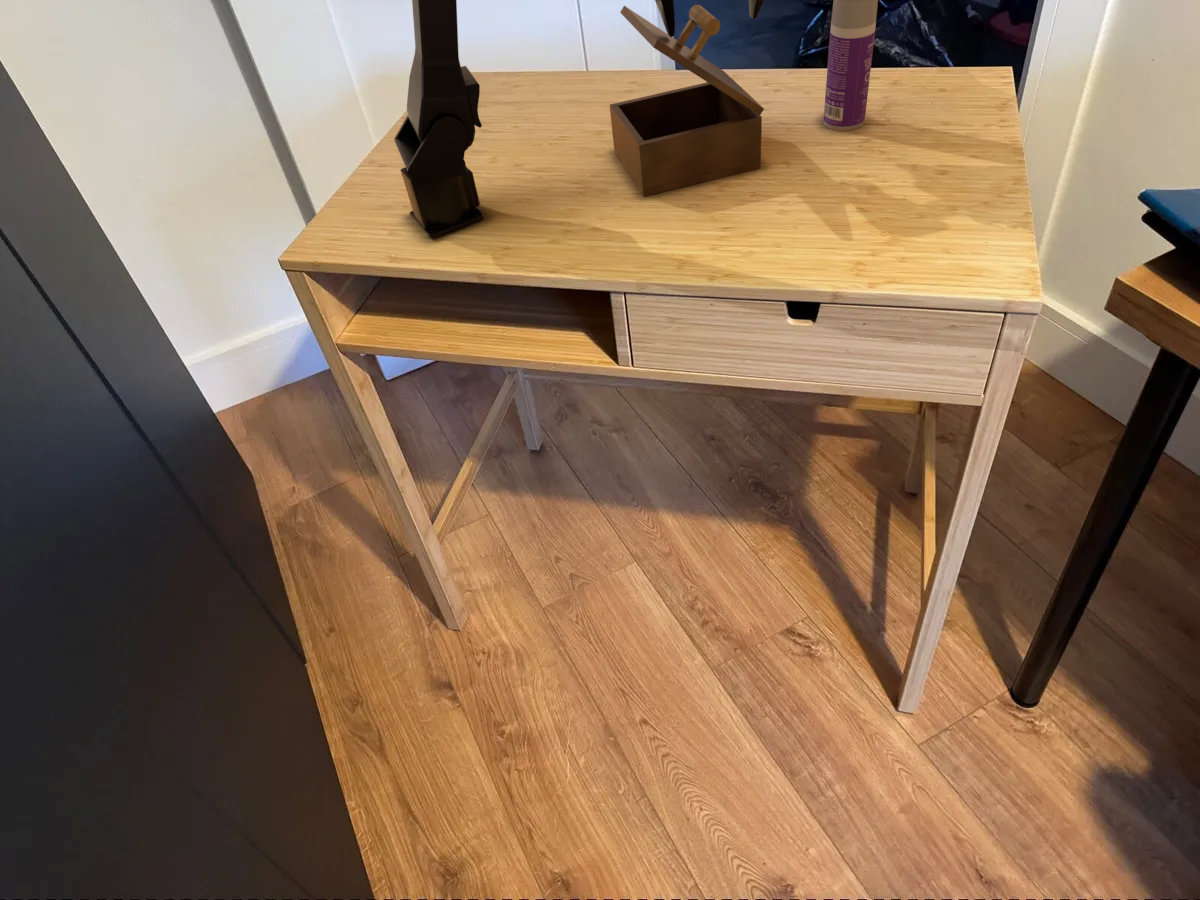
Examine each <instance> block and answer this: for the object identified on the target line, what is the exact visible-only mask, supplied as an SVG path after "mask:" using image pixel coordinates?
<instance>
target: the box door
mask: <svg viewBox="0 0 1200 900" xmlns="http://www.w3.org/2000/svg"><path fill="white" fill-rule="evenodd" d="M620 14H621V15H622V16H623V17H624V18H625V20H627V21H628V23H629V24H630V25H631V26H632V27H633V28H634V29H635V30H636V31H637V32H638V33H639V34H640V36H642V38H644V39H645V41H646V42H647V43H648V44H649V45H650V46H651V47H652V48H653V49H655V50H656V51H658V52H660V53H661V54H663V55H664V56H666V57H667V58H669V59H671V60H672V61H674V62H675V63H677V64H678V65H680V66H681V67H683V68H684V69H686V70H687V71H689V72H690V73H692V74H694V75H696V76H697V77H698V78H700V79H702V80H703V81H705V83H706V82H708V83H710V84H711V85H713V86H714V87H716V88H717V89H719V90H720V91H722V92H724V93H725V94H727V95H728V96H730V97H731V98H733V99H734V100H736V101H738V102H739V103H741V104H742V105H744V106H745V107H747V108H749V109H750V110H752V111H753V112H755V113H756V114H758V115H762V113H763V112H764V110H765V108H764V107H763V106H762V105H761V104H760V103H759V102H758V101H757V100H756V99H754V97H753V96H751V95H750V94H749V93H748V92H747V91H746V90H745V89H743V88H742V86H740V85H739V84H738V83H737V81H735V80H734V79H733V78H732V77H731V76H729V74H728V73H727V72H725V70H723V69H721V68H720V67H718V66H717V65H716V64H714V63H713V62H711V61H709V60H707V58H705V57H703V56H701V55H700V54H701V52H702V51H703V48H705V45H706V43H708V40H709V39H710V37H712V36H715V35H717V34H718V33H719V32H720V28H721V22H720V20H719V19H718V18H717V17H715V16H714V15H712V14H711V13H710V12H709V11H708V10H707V9H705V8H704V7H703V6H702V5H700V4H694V5H692V6H691V7H690V8H689V11H688V17H689V20H688V21H687V23H686V25H685V27H683V29H682V32H681V33H680V35H679V36H678V38H677V39H676V38H675V37H670V36H669V35H668V33H667V32H665V31H664V30H662V29H661V28H659V27H658V26H656V25H655V24H653V23H652V22H650V21H649V20H647V19H646V18H644V17H643V16H641V15H640V14H638V13H637V12H635V11H633V10H632V9H631V8H629V7H627V6H626V5H623V6H622V8H621V10H620ZM696 26H697V27H698V28H699V29H701V30H702V31H701V33H700V35H699V36H698V38H697V40H696V42H695V43H694V44H693V46H692V48H689V47H688V46H687V45H686V42H687V41H688V39H689V38H690V36H691V34H693V31H694V29H695V28H696Z"/></svg>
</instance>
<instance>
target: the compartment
mask: <svg viewBox="0 0 1200 900" xmlns="http://www.w3.org/2000/svg"><path fill="white" fill-rule="evenodd" d="M609 113H610V122H611V123H610V124H611V131H612V133H611V134H612V140H613V141H612V142H613V150H614V155H615V156H616V157H617V159H618V160H619V162H620V163H621V165H622V166H623V167H624V170H625V171H626V172H627V174H628V175H629V177H630V178H631V180H632V181H633V183H634V184H635V186H636V187H637V189H638V190H639V192H640V194H641V195H642V196H643V197H647V196H651V195H656V194H660V193H664V192H667V191H673V190H676V189H681V188H684V187H689V186H692V185H696V184H701V183H705V182H709V181H713V180H717V179H721V178H725V177H730V176H734V175H738V174H742V173H746V172H747V173H748V172H751V171H755V170H759V169H761V166H762V165H761V162H762V127H763V126H762V125H763V124H762V123H763V116H762V114H760V115H758V114H756V113H755V112H753V111H752V110H750V109H749V108H747V107H745V106H744V105H742V104H741V103H739V102H738V101H736V100H734V99H733V98H731V97H730V96H728V95H727V94H725V93H724V92H722V91H720V90H719V89H717V88H716V87H714V86H713V85H711V84H710V83H708V82H706V81H705V82H702V83H698V84H693V85H688V86H685V87H681V88H676V89H672V90H668V91H663V92H658V93H653V94H650V95H644V96H642V97H641V96H640V97H637V98H633V99H628V100H623V101H619V102H615V103H611V104H609Z"/></svg>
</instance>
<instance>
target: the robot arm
mask: <svg viewBox="0 0 1200 900" xmlns="http://www.w3.org/2000/svg"><path fill="white" fill-rule="evenodd" d="M411 1H412V2H411V4H412V5H411V6H412V19H413V29H414V30H413V31H414V33H413V34H414V47H415V48H414V56H413V59H412V65H411V69H410V73H409V77H408V89H407V99H406V112H407V115H406V117H405V119H404V121H403V123H402V124H401V126H400V127H399V130H398V131H397V133H396V135H395V136H394V139H393V140H394V141H393V142H394V143H395V146H396V148H397V151H398V152H399V155H400V158H401V159H402V162H403V164H404V166H405V167H402V168H400V173H401V176H402V180H403V182H404V186H405V190H406V192H407V196H408V199H409V202H410V205H411V209H412V210H411V211H410V212H409V215H410V218H411V220H412V221H414V222H415V224H416V225H417V226H418V227H419V228H420V229H421V230H422V231H423V232H424V234H425V235H426V236H427V237H428V238H430V239H434V238H436V237H439V236H442V235H444V234H448V233H450V232H452V231H455V230H457V229H461V228H463V227H465V226H468V225H471V224H473V223H475V222H478V221H481V220H483V219H484V213H483V212H482V211H481V210H480V209H479V207H480V205H481V201H480V198H479V194H478V190H477V185H476V181H475V177H474V173H473V171H472V170H471V169H470V168H469V167H468V166H467V164H466V161H465V152H466V151H467V150H468V149H469V148H470V147H471V146H473V143H474V140H475V138H476V137H475V135H476V127H477V128H479V129H480V128H482V127H483V126H482V123H481V120H480V118H479V117H480V116H479V101H480V93H481V92H480V89H481V85H480V83H479V82H478V81H477V78H475V76H474V75H473V74H472V72H471V71H470V69H469V68H468V67H467V65H463V66H462V65H461V62H460V54H459V33H458V32H459V31H458V30H459V29H458V5H457V3H458V2H457V0H411ZM764 1H765V0H748V13H749V18H751V19H752V20H755V19H757V18H758V15H759V13H760V11H761V9H762V6H763V4H764ZM654 2H655V4H656V8H657V9H658V12H659V15H660V18H661V21H662V23H663V26H664V28H665V30H666V33H667V34H668V35H669V36H670V37H673V38H675V29H676V19H675V18H676V17H675V5H674V0H654Z"/></svg>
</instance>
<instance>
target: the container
mask: <svg viewBox="0 0 1200 900" xmlns="http://www.w3.org/2000/svg"><path fill="white" fill-rule="evenodd" d="M878 2H879V0H833V3H832V11H831V22H830V31H829V42H828V44H829V45H828V55H827V56H828V57H827V69H826V82H825V95H824V109H823V122H822V123H823V125H824V127H825V128H827V129H829V130H832V131H836V132H849V131H854V130H857V129H859V128H861V127H862V126H864V124H865V123H866V122H865V120H866V112H867V106H868V105H867V104H868V98H869V97H868V95H869V87H870V79H871V71H872V62H873V53H874V44H875V36H876V25H877V15H878V14H877V13H878Z"/></svg>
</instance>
